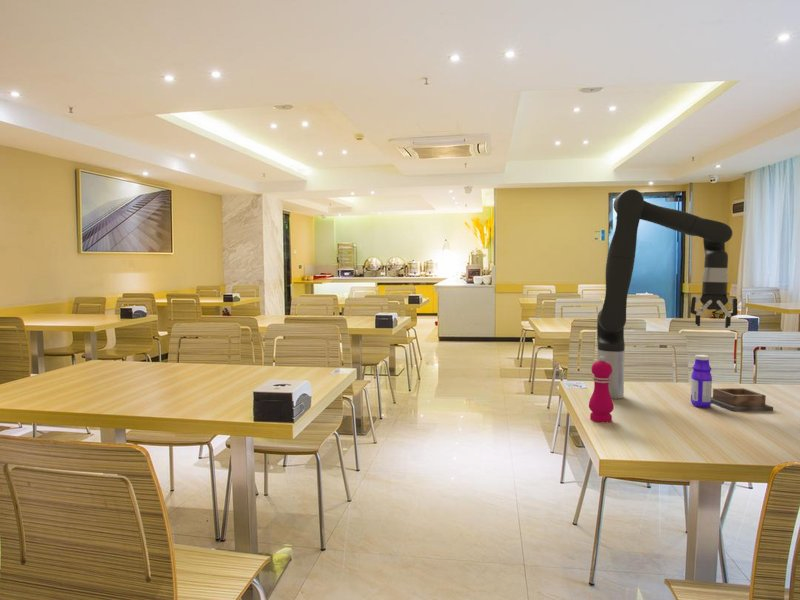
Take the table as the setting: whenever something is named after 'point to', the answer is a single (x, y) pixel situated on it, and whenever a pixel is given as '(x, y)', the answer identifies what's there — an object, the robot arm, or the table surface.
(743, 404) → the open box
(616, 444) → the table surface
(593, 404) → the pepper mill
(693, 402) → the bottle
